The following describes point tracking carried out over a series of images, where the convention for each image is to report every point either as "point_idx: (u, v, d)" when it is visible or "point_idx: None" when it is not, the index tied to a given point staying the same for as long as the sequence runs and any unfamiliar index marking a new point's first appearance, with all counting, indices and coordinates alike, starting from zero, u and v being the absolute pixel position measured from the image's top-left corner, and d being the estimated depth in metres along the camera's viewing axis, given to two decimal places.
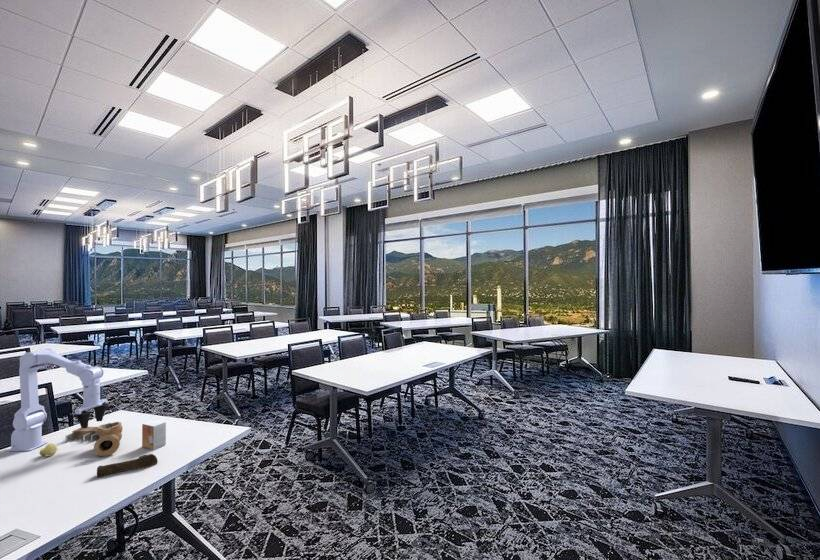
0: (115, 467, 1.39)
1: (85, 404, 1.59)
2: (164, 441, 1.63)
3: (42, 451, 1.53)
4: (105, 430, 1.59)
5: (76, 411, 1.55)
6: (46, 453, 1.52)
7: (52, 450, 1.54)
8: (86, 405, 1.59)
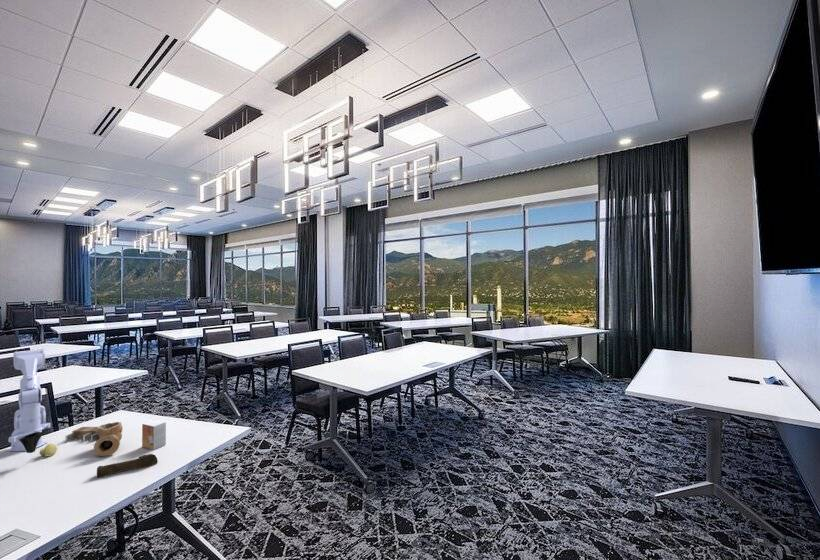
0: (115, 467, 1.39)
1: (22, 430, 1.44)
2: (164, 441, 1.63)
3: (42, 451, 1.53)
4: (105, 430, 1.58)
5: (10, 439, 1.40)
6: (46, 453, 1.52)
7: (52, 450, 1.54)
8: (23, 431, 1.44)
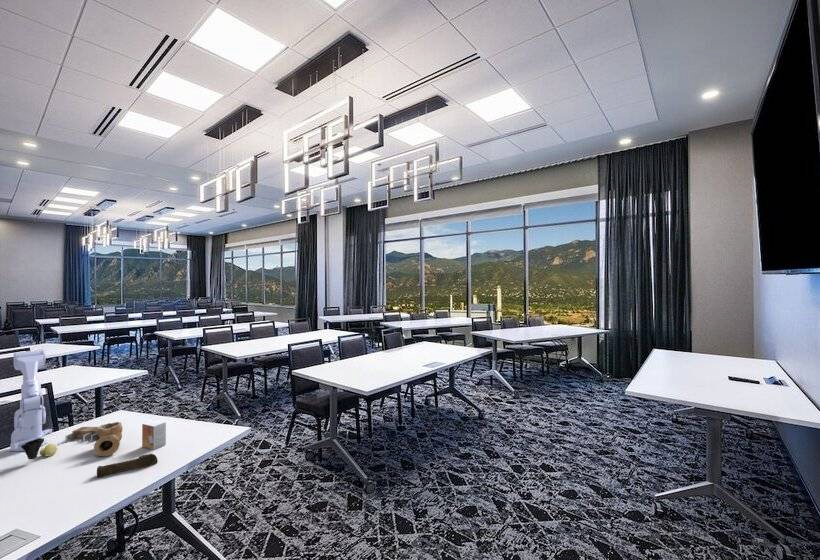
0: (115, 467, 1.39)
1: (23, 437, 1.45)
2: (164, 441, 1.63)
3: (42, 451, 1.53)
4: (105, 430, 1.58)
5: (12, 446, 1.40)
6: (46, 453, 1.52)
7: (52, 450, 1.54)
8: (24, 438, 1.45)
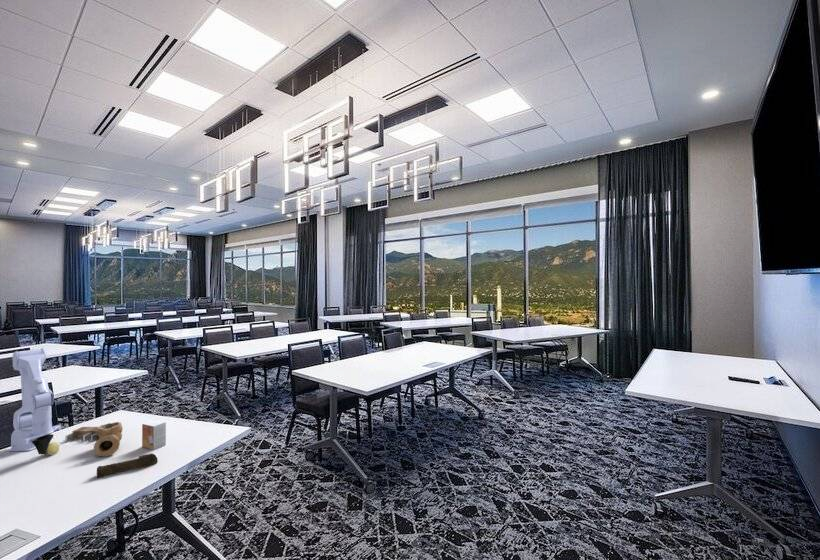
0: (115, 467, 1.39)
1: (34, 433, 1.49)
2: (164, 441, 1.63)
3: None
4: (105, 430, 1.58)
5: (23, 441, 1.44)
6: (49, 452, 1.53)
7: (54, 449, 1.55)
8: (35, 434, 1.49)
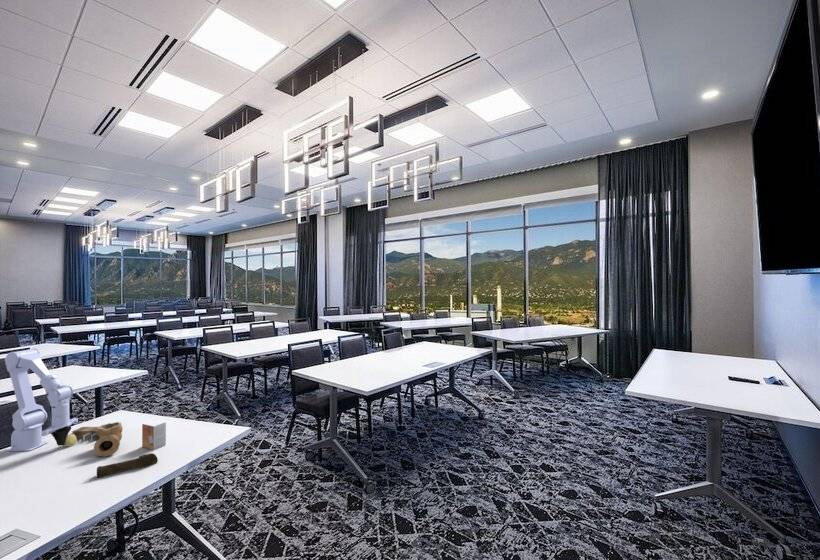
0: (115, 467, 1.39)
1: (53, 425, 1.57)
2: (164, 441, 1.63)
3: None
4: (105, 430, 1.58)
5: (43, 432, 1.53)
6: (67, 443, 1.61)
7: (72, 440, 1.63)
8: (54, 426, 1.57)
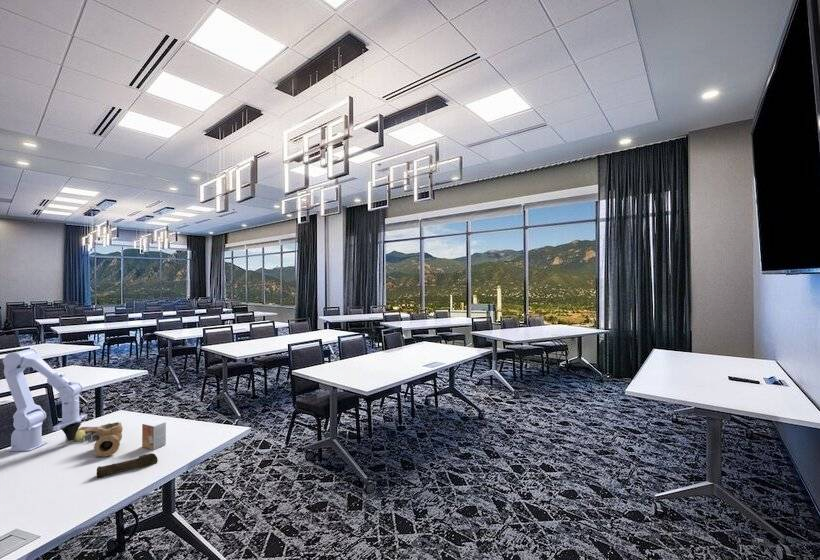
0: (115, 467, 1.39)
1: (64, 420, 1.62)
2: (164, 441, 1.63)
3: None
4: (105, 430, 1.58)
5: (54, 428, 1.57)
6: (76, 438, 1.66)
7: (82, 436, 1.68)
8: (65, 421, 1.62)
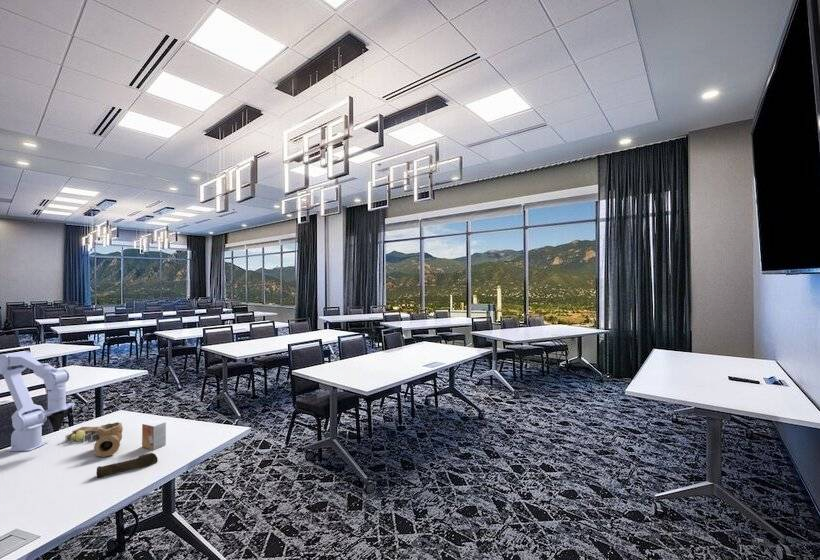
0: (115, 466, 1.39)
1: (49, 408, 1.56)
2: (164, 441, 1.63)
3: (73, 437, 1.67)
4: (105, 431, 1.58)
5: (39, 416, 1.52)
6: (76, 438, 1.66)
7: (82, 436, 1.68)
8: (50, 409, 1.56)
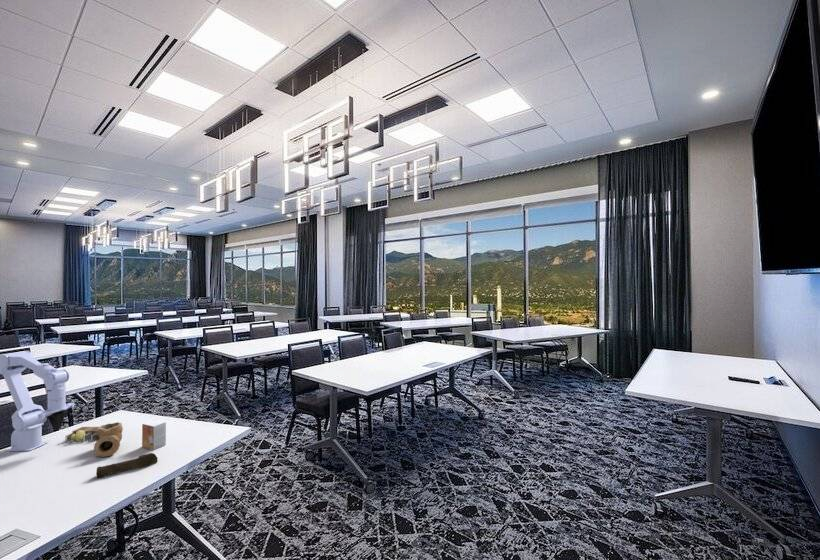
0: (115, 467, 1.39)
1: (49, 408, 1.56)
2: (164, 441, 1.63)
3: (73, 437, 1.67)
4: (105, 431, 1.58)
5: (39, 416, 1.52)
6: (76, 438, 1.66)
7: (82, 436, 1.68)
8: (50, 409, 1.56)
